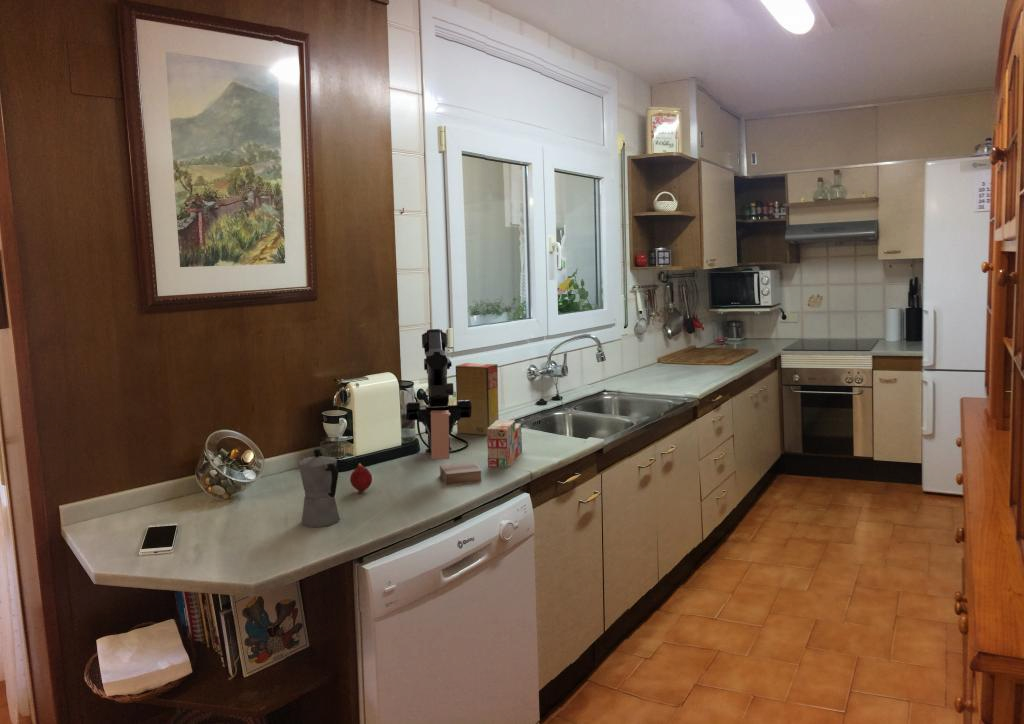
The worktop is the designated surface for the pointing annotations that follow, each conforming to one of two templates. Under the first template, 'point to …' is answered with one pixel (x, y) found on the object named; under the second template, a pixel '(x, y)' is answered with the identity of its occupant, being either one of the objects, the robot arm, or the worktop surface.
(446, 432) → the terracotta block
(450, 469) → the walnut block
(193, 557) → the worktop surface
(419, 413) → the robot arm
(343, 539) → the worktop surface
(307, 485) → the coffeepot
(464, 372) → the food packaging
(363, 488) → the onion
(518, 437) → the stack of blocks
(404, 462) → the worktop surface
